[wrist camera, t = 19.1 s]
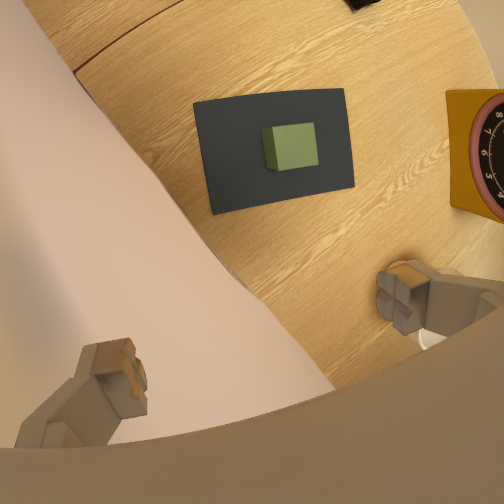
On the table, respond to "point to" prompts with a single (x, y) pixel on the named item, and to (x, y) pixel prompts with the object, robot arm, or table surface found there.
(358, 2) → the tape measure
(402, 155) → the table surface
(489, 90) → the alarm clock
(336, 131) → the mat
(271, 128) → the green block
